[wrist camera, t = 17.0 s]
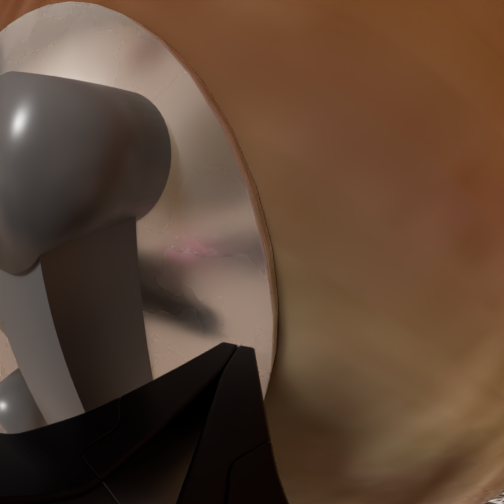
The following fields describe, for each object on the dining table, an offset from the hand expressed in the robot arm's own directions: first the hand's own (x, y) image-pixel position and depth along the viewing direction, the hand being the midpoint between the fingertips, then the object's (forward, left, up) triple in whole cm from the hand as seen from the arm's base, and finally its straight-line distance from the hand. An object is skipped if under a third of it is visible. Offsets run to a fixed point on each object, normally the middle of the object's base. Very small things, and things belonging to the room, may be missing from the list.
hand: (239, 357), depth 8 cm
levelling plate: (+1, -12, -2) cm, 12 cm away
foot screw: (-1, -4, 0) cm, 4 cm away
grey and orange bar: (+11, -13, 0) cm, 17 cm away
